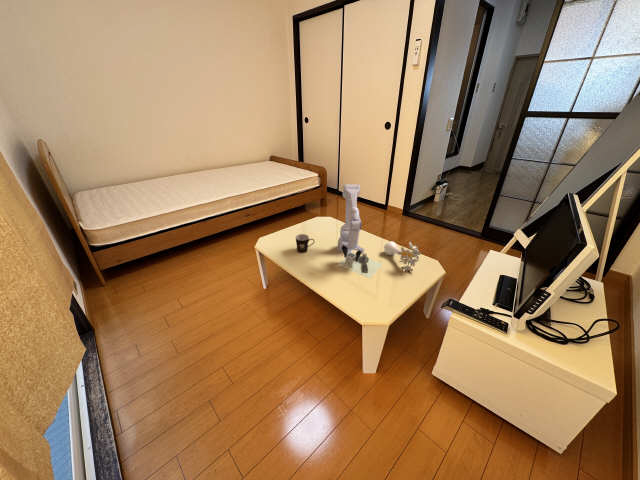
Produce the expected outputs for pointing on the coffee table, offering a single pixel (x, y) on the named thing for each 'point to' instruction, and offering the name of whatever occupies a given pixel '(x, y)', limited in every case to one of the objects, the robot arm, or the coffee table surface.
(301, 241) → the coffee mug
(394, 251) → the flower vase
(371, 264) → the mat
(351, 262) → the socket
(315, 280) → the coffee table surface
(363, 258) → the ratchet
